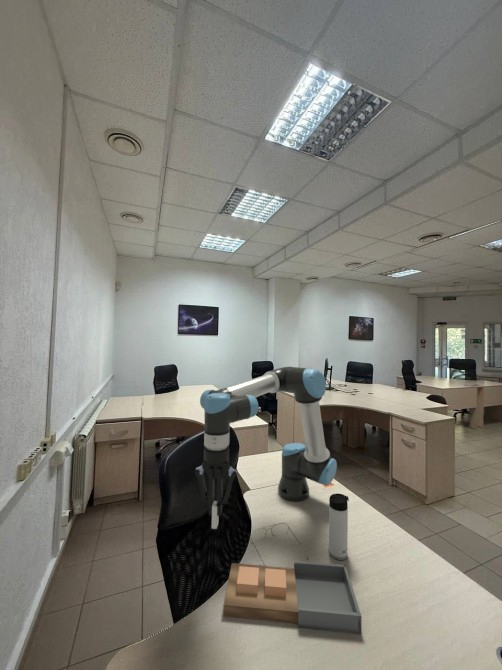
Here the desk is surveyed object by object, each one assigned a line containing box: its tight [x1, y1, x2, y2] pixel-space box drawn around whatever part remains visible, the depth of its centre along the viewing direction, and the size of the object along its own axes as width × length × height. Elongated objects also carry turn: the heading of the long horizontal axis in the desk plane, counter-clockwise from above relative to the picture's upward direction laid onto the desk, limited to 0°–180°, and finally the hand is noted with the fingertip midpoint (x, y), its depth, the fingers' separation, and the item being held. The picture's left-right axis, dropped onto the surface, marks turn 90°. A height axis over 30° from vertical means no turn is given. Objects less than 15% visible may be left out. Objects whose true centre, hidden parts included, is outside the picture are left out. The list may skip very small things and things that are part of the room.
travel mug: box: [328, 493, 350, 561], centre depth 97 cm, size 6×7×20 cm
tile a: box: [237, 566, 259, 594], centre depth 81 cm, size 6×6×2 cm
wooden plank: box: [223, 562, 298, 624], centre depth 81 cm, size 14×20×3 cm
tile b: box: [265, 568, 286, 597], centre depth 80 cm, size 6×6×2 cm
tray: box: [293, 560, 362, 635], centre depth 79 cm, size 16×16×4 cm
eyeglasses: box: [249, 522, 309, 566], centre depth 98 cm, size 16×15×5 cm
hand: (215, 525), depth 82 cm, fingers closed
